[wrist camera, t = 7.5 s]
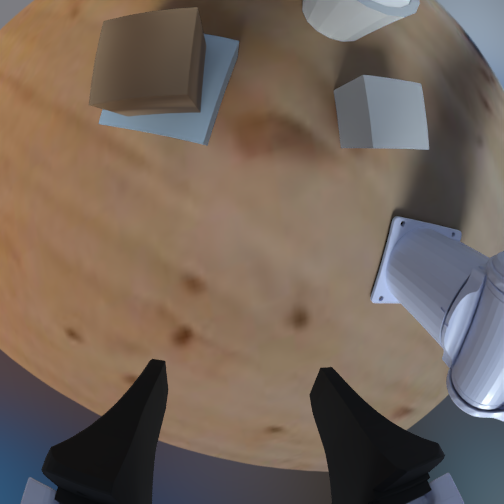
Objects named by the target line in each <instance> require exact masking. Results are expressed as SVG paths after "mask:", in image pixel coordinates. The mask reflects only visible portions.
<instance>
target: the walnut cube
mask: <svg viewBox="0 0 504 504" xmlns="http://www.w3.org/2000/svg"><path fill="white" fill-rule="evenodd" d="M205 54H206V41H205V37H204V32H203V28H202V23H201V19H200V14H199V10H198V7H190V8H177V9H167V10H159V11H152V12H145V13H139V14H134V15H129V16H124V17H119V18H115V19H111V20H107V21H104V22H103V26H102V30H101V34H100V38H99V43H98V48H97V52H96V58H95V63H94V69H93V76H92V83H91V91H90V100H89V105H90V106H94V107H97V108H101V109H104V110H108V111H111V112H114V113H118V114H121V115H124V116H127V117H129V116H139V115H151V114H167V113H200V112H201V98H202V85H203V74H204V63H205Z"/></svg>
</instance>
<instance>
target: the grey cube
mask: <svg viewBox="0 0 504 504" xmlns="http://www.w3.org/2000/svg"><path fill="white" fill-rule="evenodd" d="M334 96H335V103H336V110H337V118H338V126H339V135H340V144H341V148H395V149H423V150H429V141H428V129H427V120H426V112H425V105H424V98H423V92H422V86H421V84H419V83H415V82H410V81H404V80H398V79H392V78H386V77H378V76H370V75H362V76H360V77H358V78H356V79H354V80H352V81H350V82H348V83H346V84H344V85H343V86H341V87H339V88H337V89H335V90H334Z"/></svg>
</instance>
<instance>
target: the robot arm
mask: <svg viewBox="0 0 504 504" xmlns="http://www.w3.org/2000/svg"><path fill="white" fill-rule="evenodd" d="M402 221H403V224H402V225H401V222H402ZM461 235H462V234H461V231H459V230H456V229H452V228H448V227H444V226H440V225H436V224H432V223H427V222H423V221H418V220H414V219H409V218H405V217H400V216H395V217H394V218H393V220H392V223H391V227H390V231H389V235H388V239H387V243H386V247H385V251H384V254H383V258H382V262H381V265H380V268H379V272H378V275H377V278H376V282H375V285H374V288H373V291H372V294H371V298H370V299H371V301H372V302H373V303H401V304H402V305H403V306H404V307H405V308H406V309H407V310H408V311H409V312H410V313H411V314H412V315H413V317H414V318H415V319H416V320H417V321H418V322H419V323H420V324H421V325H422V326H423V327H424V328H425V329H426V330H427V331H428V332H429V334H430V335H431V336H432V337H433V338H434V339H435V340H436V341H437V342H438V343H439V345H440V346H441V347H442V348H443V350H444V354H443V357H442V360H443V361H444V362H445V363H446V364H447V366H448V367H449V368H450V369H449V371H448V374H447V379H446V384H447V389H448V393H449V395H450V397H451V398H452V400H453V401H454V403H455V404H456V405H457V406H458V407H459V408H460V409H461V410H463V411H464V412H466V413H468V414H470V415H472V416H476V417H486V418H487V417H489V418H490V417H491V418H496V419H499V420H501V421H503V422H504V251H503V252H500V253H498V254H497V255H494V256H492V257H491V258H489V257H487V256H485V255H483V254H482V253H480V252H478V251H476V250H475V249H473V248H471V247H469V246H467V245H465V244H463V243H462V242H460V239H461ZM381 296H382V297H381ZM379 297H381V298H380V299H379ZM167 395H168V383H167V374H166V364H165V361H162V360H155V359H152V360H150V361H149V363H148V365H147V366H146V367H145V369H144V370H143V372H142V373H141V374H140V376H139V377H138V378H137V380H136V381H135V382H134V384H133V385H132V386H131V387H130V388H129V390H128V391H127V392H126V393H125V394H124V395H123V396H122V397H121V399H120V400H119V401H118V402H117V403H116V404H115V405H114V406H113V407H112V408H111V409H110V410H109V411H107V412H106V413H105V414H104V415H103V416H102V417H100V418H99V419H98V420H97V421H95V422H94V423H93V424H92V425H90V426H89V427H88V428H86V429H84V430H83V431H81V432H79V433H78V434H76V435H75V436H73V437H71V438H69V439H67V440H65V441H63V442H61V443H59V444H57V445H55V446H53V447H51V448H50V450H49V452H48V454H47V456H46V458H45V461H44V464H43V467H42V472H43V474H44V475H45V476H46V477H47V478H48V479H50V480H51V481H52V482H53V483H54V484H56V485H57V486H58V489H57V491H55V490H54V489H52V488H50V487H48V486H46V485H44V484H42V483H40V482H38V481H36V480H34V479H33V478H31V477H30V478H29V479H28V482H27V485H26V488H25V491H24V494H23V497H22V501H21V504H152V485H153V484H152V483H153V471H154V460H155V451H156V446H157V442H158V438H159V433H160V429H161V425H162V421H163V417H164V413H165V409H166V403H167ZM310 400H311V406H312V412H313V415H314V419H315V422H316V425H317V428H318V431H319V434H320V437H321V440H322V443H323V446H324V450H325V454H326V459H327V464H328V470H329V477H330V484H331V495H332V504H464V501H463V499H462V497H461V495H460V493H459V491H458V489H457V487H456V485H455V483H454V481H453V480H452V477H451V475H450V474H449V473H447V474H445V475H443V476H441V477H439V478H437V479H435V480H434V481H432V482H430V483H428V481H427V480H428V479H429V478H430V476H429V474H428V472H430V471H431V470H432V469H433V468H434V467H435V466H437V465H438V464H439V463H440V462H441V461H442V460H443V459H444V456H445V455H444V453H443V451H442V449H441V448H440V446H439V444H438V443H436V442H432V441H429V440H427V439H424V438H421V437H419V436H417V435H414V434H412V433H410V432H408V431H406V430H404V429H402V428H401V427H399V426H397V425H396V424H394V423H392V422H391V421H389V420H388V419H386V418H385V417H384V416H382V415H381V414H380V413H378V412H377V411H376V410H374V409H373V408H372V407H371V406H370V405H369V404H368V403H366V402H365V401H364V400H363V399H362V398H361V397H360V396H359V395H358V394H357V393H356V392H355V391H354V390H353V389H352V388H351V387H350V386H349V385H348V384H347V383H346V382H345V381H344V380H343V378H342V377H341V376H340V375H339V374H338V373H337V372H336V371H335V370H334V369H333V368H332V367H328V368H320V370H319V373H318V375H317V378H316V380H315V383H314V385H313V388H312V390H311V393H310Z"/></svg>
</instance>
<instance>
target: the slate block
mask: <svg viewBox="0 0 504 504" xmlns="http://www.w3.org/2000/svg"><path fill="white" fill-rule="evenodd" d="M204 37H205V41H206V54H205V63H204V74H203V85H202V98H201V112H200V113H167V114H151V115H139V116H129V117H127V116H124V115H121V114H118V113H114V112H111V111H108V110H104V109H103V110H102V114H101V117H100V121H99V124H102V125H108V126H113V127H119V128H125V129H131V130H137V131H142V132H148V133H153V134H158V135H163V136H168V137H172V138H177V139H181V140H186V141H190V142H194V143H199V144H203V145H207V146H208V142H209V139H210V136H211V133H212V129H213V126H214V123H215V120H216V117H217V114H218V111H219V108H220V105H221V102H222V99H223V96H224V93H225V90H226V87H227V85H228V82H229V79H230V76H231V74H232V71H233V68H234V65H235V63H236V60H237V58H238V48H239V41H237V40H233V39H228V38H224V37H219V36H214V35H208V34H204Z"/></svg>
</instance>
